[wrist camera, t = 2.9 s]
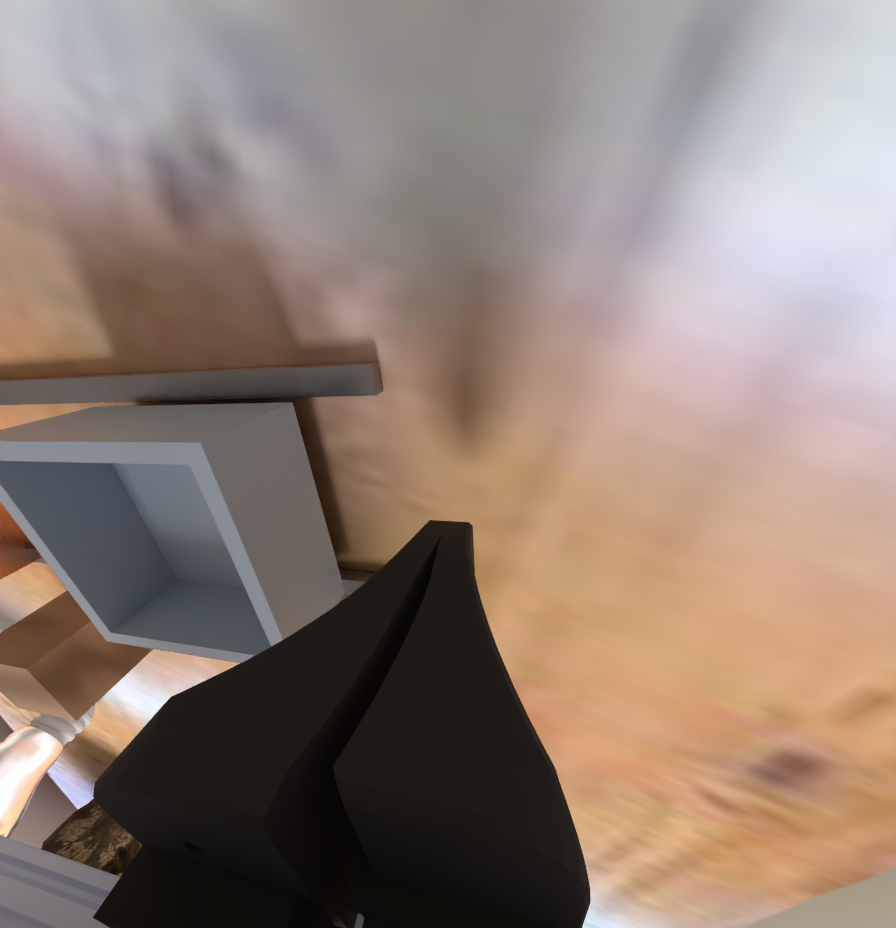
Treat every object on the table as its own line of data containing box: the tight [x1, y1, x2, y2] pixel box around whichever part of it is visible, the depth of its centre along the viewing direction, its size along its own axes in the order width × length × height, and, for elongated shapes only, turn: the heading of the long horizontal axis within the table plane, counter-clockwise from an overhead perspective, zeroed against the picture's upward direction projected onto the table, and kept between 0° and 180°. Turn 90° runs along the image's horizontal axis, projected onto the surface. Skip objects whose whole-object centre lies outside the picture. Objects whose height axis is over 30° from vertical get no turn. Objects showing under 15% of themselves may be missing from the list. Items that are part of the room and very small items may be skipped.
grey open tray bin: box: [0, 402, 345, 663], centre depth 12 cm, size 9×9×5 cm
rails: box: [0, 362, 383, 595], centre depth 15 cm, size 11×25×3 cm, turn 94°
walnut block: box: [0, 591, 153, 721], centre depth 20 cm, size 4×4×5 cm
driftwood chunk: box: [41, 799, 142, 877], centre depth 38 cm, size 28×13×15 cm
